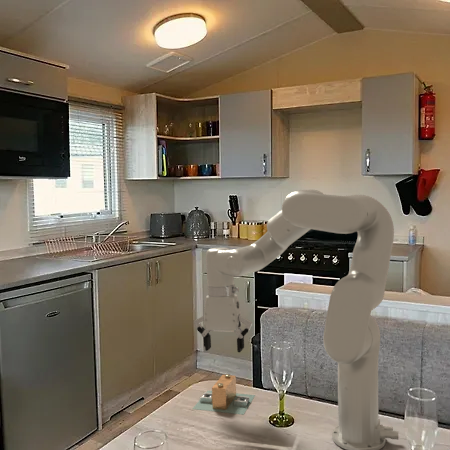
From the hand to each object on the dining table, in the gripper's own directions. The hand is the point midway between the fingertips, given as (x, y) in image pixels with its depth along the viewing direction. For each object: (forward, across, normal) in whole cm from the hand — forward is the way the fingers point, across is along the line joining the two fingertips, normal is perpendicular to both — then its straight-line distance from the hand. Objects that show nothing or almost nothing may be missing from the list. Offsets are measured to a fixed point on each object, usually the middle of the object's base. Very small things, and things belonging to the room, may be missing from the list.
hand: (224, 350), depth 142 cm
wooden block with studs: (+15, +1, 0) cm, 15 cm away
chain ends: (+15, +1, 0) cm, 15 cm away
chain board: (+16, +1, 0) cm, 16 cm away
